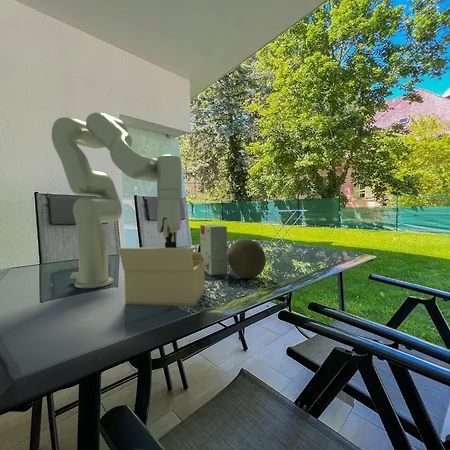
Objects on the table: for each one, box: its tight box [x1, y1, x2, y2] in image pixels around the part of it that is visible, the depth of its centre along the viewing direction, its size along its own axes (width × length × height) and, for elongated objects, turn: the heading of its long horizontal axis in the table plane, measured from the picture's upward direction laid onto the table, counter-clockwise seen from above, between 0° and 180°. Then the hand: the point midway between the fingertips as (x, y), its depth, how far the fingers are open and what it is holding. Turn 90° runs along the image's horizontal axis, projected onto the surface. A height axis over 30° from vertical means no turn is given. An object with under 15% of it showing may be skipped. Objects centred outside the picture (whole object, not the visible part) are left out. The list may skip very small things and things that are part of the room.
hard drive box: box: [199, 224, 228, 276], centre depth 117 cm, size 16×8×20 cm, turn 21°
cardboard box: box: [124, 260, 206, 307], centre depth 82 cm, size 20×14×10 cm
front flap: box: [118, 247, 194, 271], centre depth 73 cm, size 20×7×1 cm
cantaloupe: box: [227, 239, 267, 280], centre depth 102 cm, size 14×14×15 cm
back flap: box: [192, 251, 204, 261], centre depth 86 cm, size 20×7×1 cm
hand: (171, 254), depth 85 cm, fingers closed
